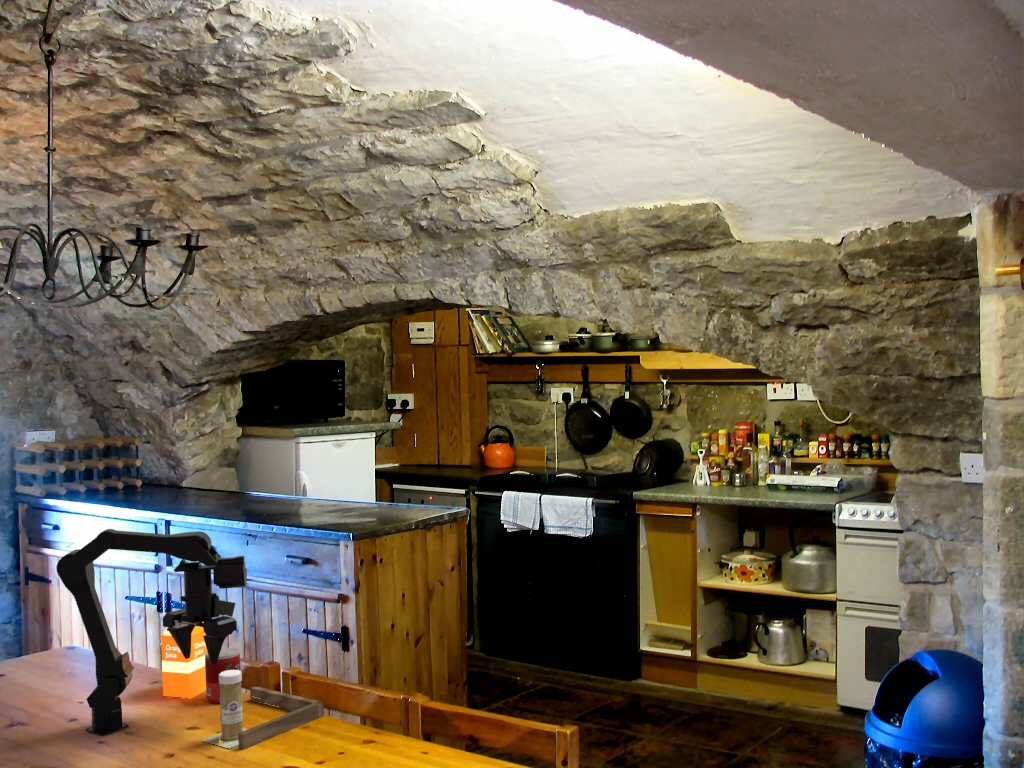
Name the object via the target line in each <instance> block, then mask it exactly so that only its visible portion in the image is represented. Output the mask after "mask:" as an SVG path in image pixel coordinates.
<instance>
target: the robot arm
mask: <svg viewBox="0 0 1024 768" xmlns="http://www.w3.org/2000/svg"><path fill="white" fill-rule="evenodd" d="M212 544H213V543H212V540H211V537H210V535H208V534H207V533H206V532H204V531H188V532H187V531H186V532H179V533H172V534H171V533H169V534H167V533H166V534H164V533H154V532H153V533H152V532H139V531H127V530H116V529H113V528H107V529H104V530H103V531H101V532H99V533H98V534H97V536H96V537H95V538H93V539H92V540H91V541H90V542H88V543H87V544H86V545H84V546H83V547H81V549H79V548H78V549H74V550H72V551H70V552H68V553H67V554H65V555H63V556H62V557H61V558H60V559H58V562H57V564H56V573H57V575H58V577H59V578H60V580H61V582H62V584H63V586H64V587H65V589H67V591H69V592H70V593H71V595H72V597H74V600H75V604H76V606H77V609H78V613H79V614H80V618H81V620H82V623H83V626H84V628H85V632H86V635H87V637H88V640H89V644H90V645H91V649H92V652H93V654H94V658H95V679H96V684H97V685H96V687H95V688H94V689H93V690H92V692H91V693H89V695H88V697H86V702H87V704H88V706H89V708H91V726H88V727H85V731H86V733H87V732H88V733H91V734H94V735H98V736H100V737H102V736H103V737H104V736H107V735H109V734H112V733H115V732H118V731H121V730H123V729H126V728H128V727H129V726H130V725H129V723H126V722H123V708H122V700H121V697H120V695H122V693H124V691H125V690H126V689H127V687H128V686H129V684H130V682H131V681H132V678H133V671H134V669H135V667H134V666H133V664H132V662H131V660H130V654H129V652H128V651H126V652H125V653H123V654H122V653H121V652H120V651H119V650H118V648H117V647H116V643H115V640H114V638H113V635H112V633H111V629H110V627H109V624H108V622H107V618H106V616H105V613H104V610H103V607H102V604H101V601H100V598H99V595H98V593H97V590H96V579H95V578H96V576H95V575H96V573H95V566H94V564H95V563H94V561H96V560H97V559H98V558H99V557H101V556H102V555H103V554H104V553H106V552H107V551H108V550H118V551H129V552H131V551H133V552H143V553H144V552H145V553H154V554H156V553H157V554H165V555H168V556H172V557H174V558H177V559H179V560H180V561H179V564H178V565H177V566H176V567H175V568H174V569H173V572H175V573H181V572H182V573H183V583H184V584H183V586H184V589H183V590H184V595H181V596H180V598H179V599H180V602H183V603H184V608H182V609H178V610H173V611H169V612H166V613H165V614H164V616H163V617H162V627H164V628H166V627H168V628H167V631H169V632H170V634H171V635H172V637H173V639H174V640H175V642H176V643H177V645H178V647H179V649H180V650H181V652H182V654H183V656H184V658H185V659H188V658H190V655H191V634H192V631H193V629H194V628H195V626H199V627H203V631H204V632H205V634H206V635H205V636H203V638H204V641H205V645H206V648H207V652H208V655H209V659H210V661H211V664H212V665H214V664H217V661H218V658H219V654H220V651H221V648H223V644H224V642H225V640H226V639H227V638H228V636H231V635H232V634H233V633H234V632H235V631H238V621H237V619H235V618H234V617H233V615H234V612H235V607H236V602H234V601H233V602H231V601H226V600H221V599H220V596H219V595H218V594H217V593H215V592H213V588H212V587H213V585H215V586H216V587H218V589H220V590H221V589H235V588H236V589H237V588H246V587H247V584H248V583H247V582H248V577H247V576H248V570H247V567H246V561H245V556H244V555H237V556H233V557H222V556H221V554H219V552H218V551H217V550H216V549H215V548H214V546H213V545H212ZM188 561H189V562H188ZM212 572H213V574H212ZM212 575H213V585H212ZM202 622H203V623H202Z"/></svg>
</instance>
